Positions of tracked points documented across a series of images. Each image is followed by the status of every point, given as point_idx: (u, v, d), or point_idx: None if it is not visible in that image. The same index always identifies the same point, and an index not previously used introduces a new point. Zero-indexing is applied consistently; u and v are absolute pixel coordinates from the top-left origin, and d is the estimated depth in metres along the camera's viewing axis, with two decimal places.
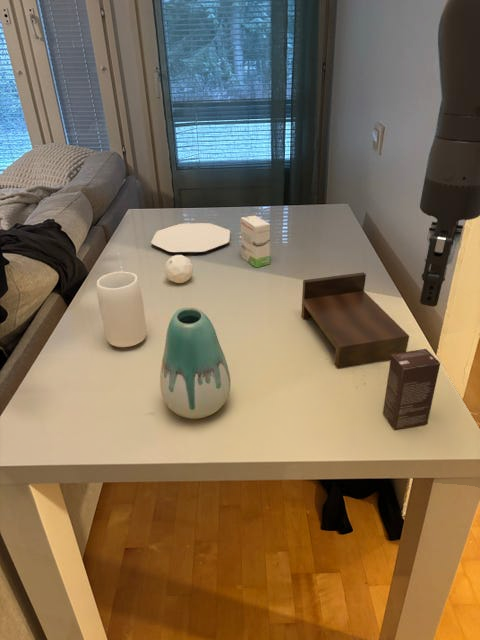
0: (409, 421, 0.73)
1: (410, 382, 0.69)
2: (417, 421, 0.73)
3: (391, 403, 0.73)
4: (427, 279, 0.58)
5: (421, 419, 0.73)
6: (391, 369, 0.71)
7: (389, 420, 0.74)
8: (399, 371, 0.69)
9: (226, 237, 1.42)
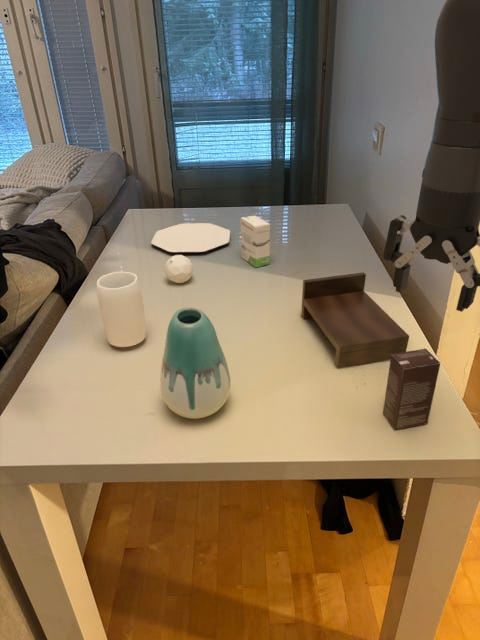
0: (409, 421, 0.73)
1: (410, 382, 0.69)
2: (417, 421, 0.73)
3: (391, 403, 0.73)
4: None
5: (421, 419, 0.73)
6: (391, 369, 0.71)
7: (389, 420, 0.74)
8: (399, 371, 0.69)
9: (226, 237, 1.42)
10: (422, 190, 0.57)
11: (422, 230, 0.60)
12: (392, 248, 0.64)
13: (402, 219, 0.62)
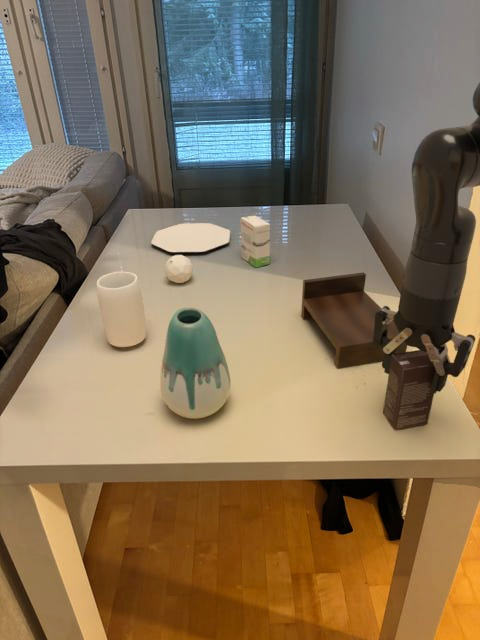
0: (409, 421, 0.73)
1: (410, 382, 0.69)
2: (417, 421, 0.73)
3: (391, 403, 0.73)
4: (459, 373, 0.65)
5: (421, 419, 0.73)
6: (391, 369, 0.71)
7: (389, 420, 0.74)
8: (399, 371, 0.69)
9: (226, 237, 1.42)
10: (403, 291, 0.64)
11: (404, 321, 0.67)
12: (380, 336, 0.71)
13: (386, 310, 0.70)
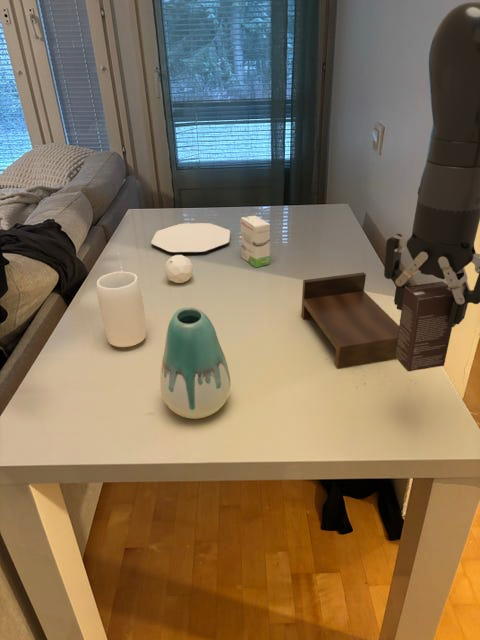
0: (424, 362, 0.67)
1: (426, 315, 0.63)
2: (433, 362, 0.67)
3: (404, 342, 0.67)
4: None
5: (437, 360, 0.67)
6: (404, 303, 0.65)
7: (402, 362, 0.68)
8: (414, 302, 0.63)
9: (226, 237, 1.42)
10: (418, 207, 0.58)
11: (418, 246, 0.61)
12: (392, 266, 0.65)
13: (398, 237, 0.64)
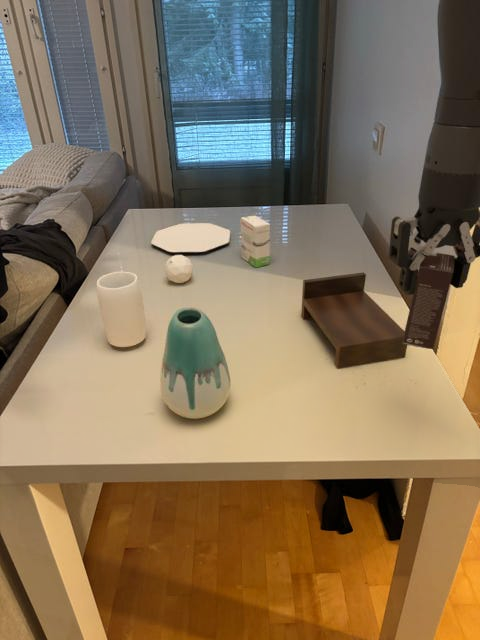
0: None
1: None
2: None
3: None
4: (391, 259, 0.60)
5: None
6: None
7: None
8: None
9: (226, 237, 1.42)
10: None
11: None
12: (472, 236, 0.62)
13: None
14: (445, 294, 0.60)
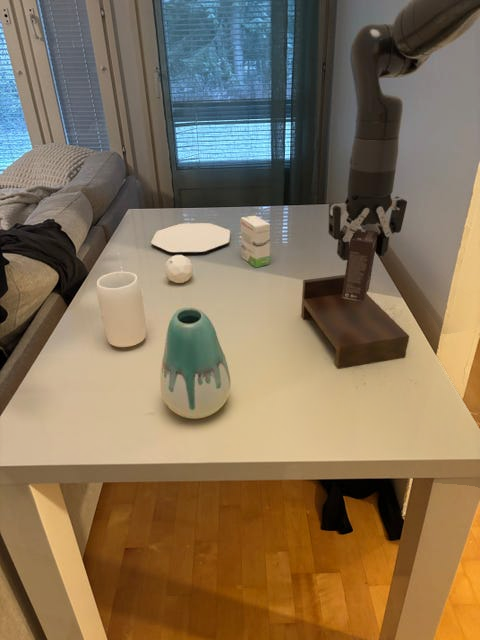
0: None
1: None
2: None
3: None
4: (330, 234, 0.83)
5: None
6: None
7: None
8: None
9: (226, 237, 1.42)
10: None
11: None
12: (390, 218, 0.85)
13: (398, 198, 0.82)
14: (369, 259, 0.83)
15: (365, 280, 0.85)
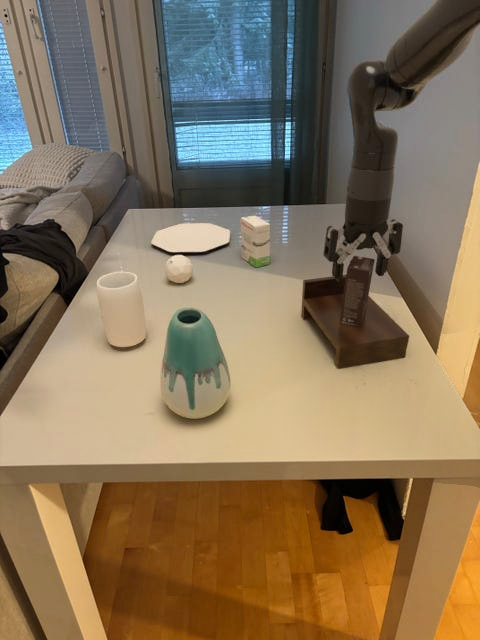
0: None
1: None
2: None
3: None
4: (324, 256, 0.85)
5: None
6: None
7: None
8: None
9: (226, 237, 1.42)
10: None
11: None
12: (389, 240, 0.88)
13: (393, 222, 0.85)
14: (365, 286, 0.86)
15: (362, 306, 0.88)
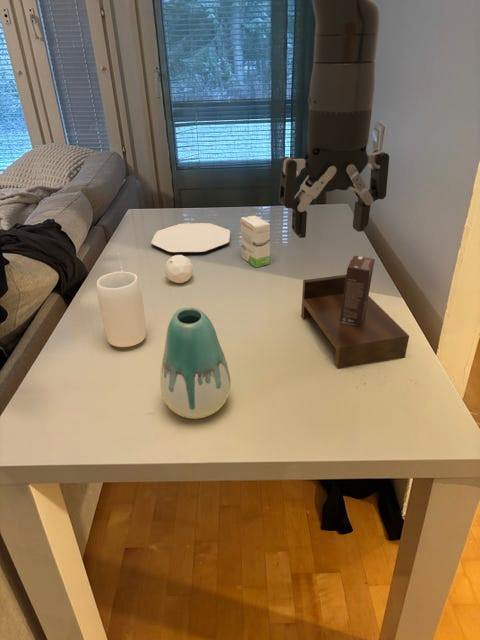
0: None
1: None
2: None
3: None
4: (280, 201, 0.61)
5: None
6: None
7: None
8: None
9: (226, 237, 1.42)
10: None
11: None
12: (371, 180, 0.63)
13: (376, 152, 0.60)
14: (365, 286, 0.86)
15: (362, 306, 0.88)
